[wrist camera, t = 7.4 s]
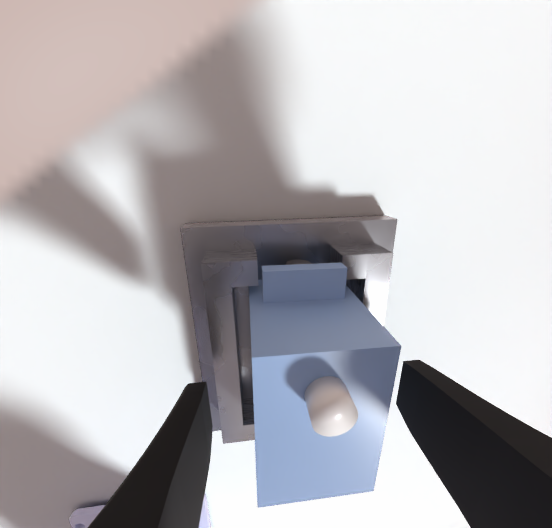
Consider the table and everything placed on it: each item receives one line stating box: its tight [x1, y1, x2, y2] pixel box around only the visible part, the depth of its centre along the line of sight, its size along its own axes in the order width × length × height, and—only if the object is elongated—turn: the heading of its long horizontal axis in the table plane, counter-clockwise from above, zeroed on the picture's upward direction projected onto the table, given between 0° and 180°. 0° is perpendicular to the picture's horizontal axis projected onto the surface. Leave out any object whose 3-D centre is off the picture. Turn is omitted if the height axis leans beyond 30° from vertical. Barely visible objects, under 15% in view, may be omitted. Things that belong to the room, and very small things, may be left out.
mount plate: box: [180, 216, 397, 444], centre depth 12 cm, size 11×9×2 cm
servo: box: [249, 259, 401, 507], centre depth 10 cm, size 8×4×6 cm, turn 0°
